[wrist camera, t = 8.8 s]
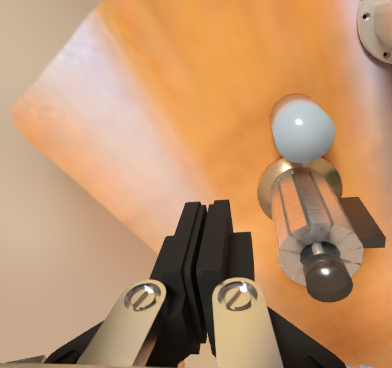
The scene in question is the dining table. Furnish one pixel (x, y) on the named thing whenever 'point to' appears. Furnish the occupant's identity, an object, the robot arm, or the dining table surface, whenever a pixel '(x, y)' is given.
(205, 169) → the dining table surface
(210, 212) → the robot arm
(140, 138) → the dining table surface
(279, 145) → the pale blue egg
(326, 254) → the plunger
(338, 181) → the cafetiere
